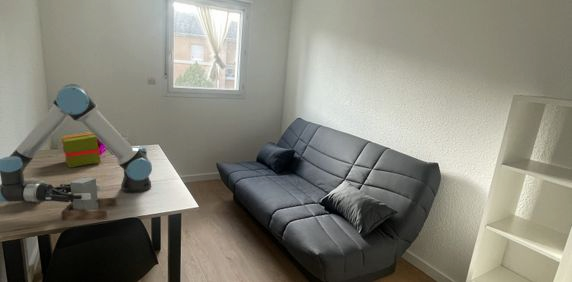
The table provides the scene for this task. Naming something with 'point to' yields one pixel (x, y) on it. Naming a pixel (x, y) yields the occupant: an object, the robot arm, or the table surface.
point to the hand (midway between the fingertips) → (95, 191)
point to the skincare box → (85, 187)
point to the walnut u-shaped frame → (89, 211)
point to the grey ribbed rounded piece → (33, 181)
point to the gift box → (82, 149)
